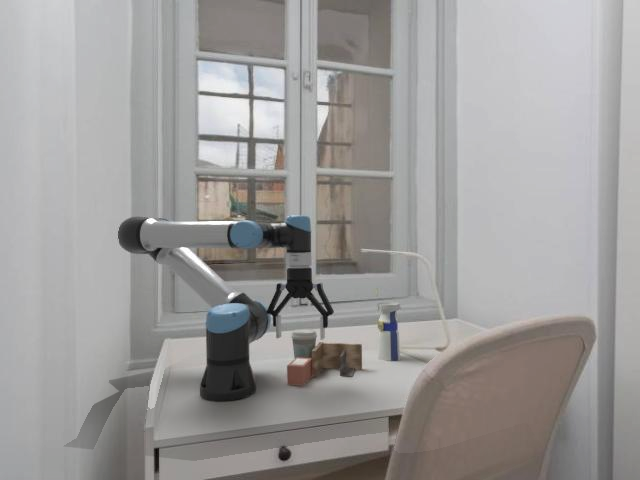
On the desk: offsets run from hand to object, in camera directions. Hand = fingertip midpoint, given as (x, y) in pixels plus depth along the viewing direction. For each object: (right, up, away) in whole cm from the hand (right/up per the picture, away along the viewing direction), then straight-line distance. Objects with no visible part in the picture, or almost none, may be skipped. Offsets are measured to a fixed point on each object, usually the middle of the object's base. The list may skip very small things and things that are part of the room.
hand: (300, 338), depth 122 cm
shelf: (+12, -12, +7) cm, 18 cm away
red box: (0, -13, 0) cm, 13 cm away
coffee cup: (+1, -13, +12) cm, 18 cm away
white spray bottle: (+30, -13, +22) cm, 39 cm away
